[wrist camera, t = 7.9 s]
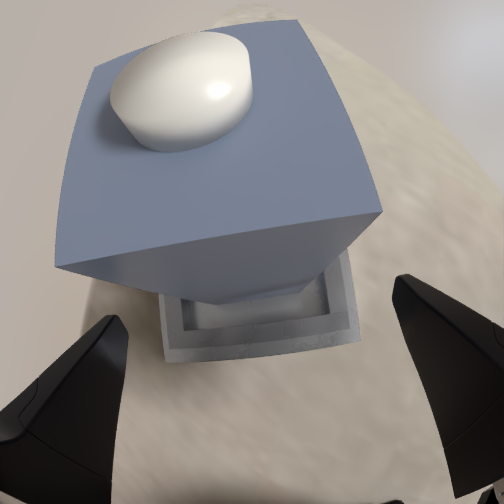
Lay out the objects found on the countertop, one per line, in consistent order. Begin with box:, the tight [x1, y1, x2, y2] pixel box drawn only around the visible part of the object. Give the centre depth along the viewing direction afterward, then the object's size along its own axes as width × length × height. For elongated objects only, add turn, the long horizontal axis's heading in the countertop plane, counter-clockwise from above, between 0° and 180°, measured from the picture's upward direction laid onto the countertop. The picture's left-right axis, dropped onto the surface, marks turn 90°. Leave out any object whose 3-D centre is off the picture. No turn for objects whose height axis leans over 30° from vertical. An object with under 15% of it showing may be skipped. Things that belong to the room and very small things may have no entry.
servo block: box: [55, 20, 383, 305], centre depth 10 cm, size 5×5×14 cm
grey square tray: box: [158, 248, 361, 363], centre depth 16 cm, size 12×12×2 cm
